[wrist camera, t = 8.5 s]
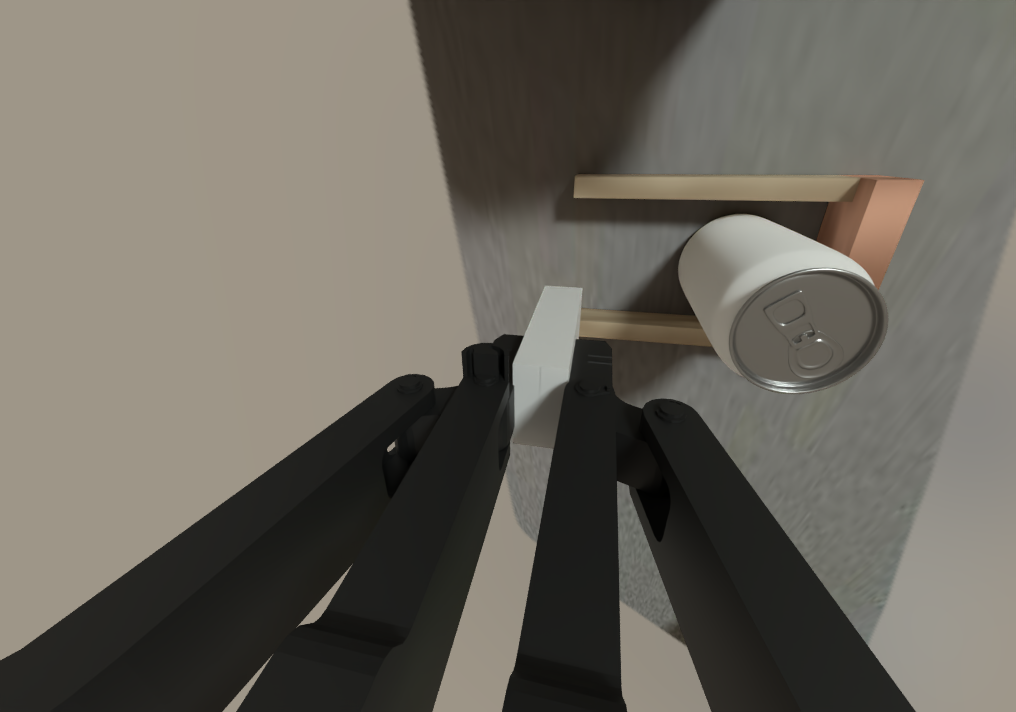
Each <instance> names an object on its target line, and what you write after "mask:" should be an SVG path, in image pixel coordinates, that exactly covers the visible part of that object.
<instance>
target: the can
mask: <svg viewBox="0 0 1016 712" xmlns="http://www.w3.org/2000/svg"><path fill="white" fill-rule="evenodd" d="M678 276H679V281H680V284H681V287H682V289H683V292H684V294H685V296H686V298H687V299H688V301H689V303H690V305H691V307H692V309H693V311H694V313H695V315H696V317H697V318H698V320H699V322H700V324H701V326H702V328H703V330H704V332H705V333H706V335H707V337H708V339H709V341H710V343H711V344H712V346H713V348H714V350H715V351H716V353H717V354H718V356H719V357H720V359H721V360H722V361H723V362H724V363H725V364H726V365H727V366H728V367H729V368H730V369H731V370H733V371H734V372H736V373H737V374H739V375H741V376H743V377H745V378H746V379H747V380H748V381H750V382H751V383H753V384H754V385H756V386H758V387H760V388H763V389H765V390H768V391H772V392H777V393H783V394H804V393H811V392H816V391H820V390H824V389H827V388H830V387H832V386H835V385H837V384H839V383H841V382H843V381H845V380H847V379H848V378H850V377H852V376H853V375H855V374H856V373H857V372H859V371H860V370H861V369H862V368H864V367H865V366H866V365H867V364H868V363H869V362H870V361H871V359H872V358H873V357H874V356H875V355H876V353H877V352H878V350H879V349H880V347H881V345H882V343H883V341H884V339H885V336H886V333H887V328H888V310H887V306H886V303H885V300H884V298H883V296H882V295H881V293H880V292H879V290H878V289H877V288H876V287H875V285H874V283H873V281H872V279H871V278H870V276H869V275H868V273H867V272H866V271H865V270H864V269H863V268H862V267H861V266H860V265H859V264H857V263H856V262H855V261H854V260H852V259H851V258H849V257H847V256H845V255H843V254H842V253H840V252H838V251H836V250H834V249H831V248H829V247H827V246H825V245H823V244H821V243H818V242H816V241H814V240H812V239H810V238H808V237H805V236H803V235H801V234H799V233H797V232H794V231H792V230H790V229H788V228H785V227H783V226H781V225H779V224H776V223H774V222H772V221H769V220H767V219H765V218H762V217H759V216H756V215H750V214H732V215H727V216H724V217H720V218H718V219H715V220H713V221H711V222H709V223H708V224H706V225H705V226H703V227H702V228H701V229H699V230H698V231H697V232H696V233H695V234H694V235H693V236H692V237H691V238H690V240H689V241H688V242H687V244H686V246H685V247H684V249H683V251H682V254H681V257H680V260H679V266H678Z"/></svg>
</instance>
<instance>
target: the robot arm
mask: <svg viewBox="0 0 1016 712" xmlns="http://www.w3.org/2000/svg"><path fill="white" fill-rule="evenodd" d="M582 289H583V288H575V287H557V286H545V288H544V290H543V292H542V295H541V297H540V300H539V302H538V304H537V307H536V309H535V311H534V314H533V316H532V319H531V321H530V323H529V326H528V328H527V331H526V333H525V335H524V336H519V335H506V334H503V335H502V336H500V337H499V338H497V339H496V340H494V342H493V343H479V344H474V345H471V346H469V347H466V348H465V349H464V350H463V351H462V365H463V379H462V381H461V382H460V384H459V386H455V387H448V388H436V389H435V388H434V382H433V380H432V379H431V378H429V377H427V376H425V375H419V374H412V375H411V374H408V375H405V376H401V377H398V378H396V379H394V380H392V381H390V382H389V383H388V384H386V385H385V386H384V387H382V388H381V389H380V390H378V391H377V392H375V393H374V394H373V395H371V396H370V397H368V398H367V399H366V400H365V401H363V402H362V403H360V404H359V405H357V406H356V407H355V408H353V409H352V410H351V411H349V412H348V413H347V414H345V415H344V416H342V417H341V418H339V419H338V420H337V421H335V422H334V423H333V424H331V425H330V426H328V427H327V428H326V429H325V430H323V431H322V432H320V433H319V434H317V435H316V436H315V437H313V438H312V439H311V440H309V441H308V442H306V443H305V444H304V445H302V446H301V447H300V448H298V449H297V450H295V451H294V452H293V453H291V454H290V455H288V456H287V457H286V458H284V459H283V460H282V461H280V462H279V463H277V464H276V465H275V466H273V467H272V468H271V469H269V470H268V471H266V472H265V473H264V474H262V475H261V476H259V477H258V478H257V479H255V480H254V481H253V482H251V483H250V484H248V485H247V486H246V487H244V488H243V489H242V490H240V491H239V492H237V493H236V494H235V495H233V496H232V497H230V498H229V499H228V500H226V501H225V502H224V503H222V504H221V505H219V506H218V507H217V508H216V509H214V510H213V511H211V512H210V513H209V514H207V515H206V516H204V517H203V518H202V519H200V520H199V521H197V522H196V523H195V524H193V525H192V526H191V527H189V528H188V529H186V530H185V531H184V532H182V533H181V534H179V535H178V536H177V537H175V538H174V539H173V540H171V541H170V542H168V543H167V544H166V545H165V546H163V547H162V548H160V549H159V550H157V551H156V552H155V553H153V554H152V555H150V556H149V557H148V558H147V559H145V560H144V561H142V562H141V563H140V564H138V565H137V566H135V567H134V568H133V569H131V570H130V571H129V572H127V573H126V574H124V575H123V576H122V577H120V578H119V579H117V580H116V581H115V582H113V583H112V584H110V585H109V586H108V587H106V588H105V589H104V590H102V591H101V592H100V593H98V594H97V595H95V596H94V597H93V598H91V599H90V600H88V601H87V602H86V603H84V604H83V605H82V606H80V607H79V608H77V609H76V610H75V611H73V612H72V613H70V614H69V615H68V616H66V617H65V618H64V619H62V620H61V621H59V622H58V623H57V624H55V625H54V626H53V627H51V628H50V629H48V630H47V631H46V632H45V633H43V634H42V635H40V636H39V637H37V638H36V639H35V640H33V641H32V642H30V643H29V644H28V645H26V646H25V647H24V648H22V649H21V650H19V651H17V652H15V653H13V654H12V655H10V656H8V657H6V658H4V659H2V660H0V712H222V711H223V710H224V709H225V708H226V707H227V706H228V704H229V703H230V702H231V701H232V700H233V699H234V697H236V695H237V694H238V693H239V692H240V691H241V690H242V689H243V687H244V686H245V685H246V684H247V683H248V682H249V680H251V678H252V677H253V676H254V675H255V674H256V673H257V671H258V670H259V669H260V668H261V667H262V666H263V665H264V664H265V663H266V661H267V660H268V659H269V658H270V657H271V656H272V657H271V659H270V660H269V662H268V663H267V665H266V666H265V668H264V669H263V671H262V673H261V674H260V676H259V677H258V679H257V680H256V682H255V684H254V685H253V687H252V688H251V690H250V691H249V693H248V695H247V696H246V697H245V699H244V701H243V702H242V704H241V705H240V707H239V708H238V710H237V711H236V712H432V711H433V708H434V704H435V701H436V698H437V694H438V691H439V688H440V685H441V681H442V678H443V675H444V671H445V668H446V665H447V661H448V658H449V655H450V651H451V648H452V645H453V642H454V638H455V635H456V631H457V628H458V625H459V622H460V618H461V615H462V612H463V609H464V605H465V602H466V599H467V595H468V592H469V589H470V585H471V582H472V579H473V576H474V572H475V569H476V566H477V562H478V559H479V555H480V552H481V549H482V546H483V543H484V539H485V536H486V533H487V529H488V526H489V523H490V519H491V516H492V513H493V509H494V506H495V503H496V499H497V496H498V493H499V490H500V486H501V483H502V480H503V476H504V473H505V470H506V467H507V463H508V460H509V457H510V439H511V436H512V433H513V443H515V444H522V445H530V446H537V447H545V448H552V449H554V450H553V456H552V462H551V467H550V473H549V478H548V484H547V490H546V495H545V501H544V507H543V512H542V518H541V523H540V529H539V535H538V540H537V546H536V552H535V557H534V563H533V568H532V574H531V580H530V586H529V591H528V597H527V603H526V608H525V614H524V619H523V625H522V630H521V636H520V642H519V648H518V653H517V658H516V663H515V667H514V671H513V672H512V674H511V676H510V679H509V683H508V686H507V690H506V695H505V700H504V705H503V709H502V712H627V708H626V704H625V701H624V699H623V697H622V689H621V658H620V657H621V656H620V655H621V654H620V613H619V611H620V608H619V560H618V513H617V481H619V482H621V483H624V484H626V485H629V490H630V495H631V498H632V500H633V503H634V506H635V508H636V511H637V514H638V516H639V519H640V522H641V524H642V527H643V530H644V532H645V535H646V538H647V540H648V543H649V546H650V549H651V551H652V554H653V557H654V559H655V562H656V565H657V567H658V570H659V573H660V575H661V578H662V581H663V583H664V586H665V589H666V591H667V594H668V597H669V599H670V602H671V605H672V607H673V610H674V613H675V615H676V618H677V621H678V623H679V626H680V629H681V631H682V634H683V637H684V639H685V642H686V645H687V647H688V650H689V653H690V655H691V658H692V660H693V663H694V666H695V669H696V671H697V674H698V677H699V680H700V682H701V685H702V688H703V690H704V693H705V696H706V698H707V700H708V704H709V706H710V709H711V711H712V712H915V710H914V709H913V707H912V706H911V705H910V703H909V702H908V701H907V699H906V698H905V696H904V695H903V694H902V692H901V691H900V690H899V688H898V687H897V686H896V684H895V683H894V681H893V680H892V678H891V677H890V676H889V674H888V673H887V672H886V670H885V669H884V668H883V666H882V665H881V663H880V662H879V661H878V659H877V658H876V657H875V655H874V654H873V652H872V651H871V650H870V648H869V647H868V646H867V644H866V643H865V641H864V640H863V639H862V637H861V636H860V635H859V633H858V632H857V630H856V629H855V628H854V626H853V625H852V624H851V622H850V621H849V619H848V618H847V617H846V615H845V614H844V613H843V611H842V610H841V609H840V607H839V606H838V604H837V603H836V602H835V600H834V599H833V598H832V596H831V595H830V593H829V592H828V591H827V589H826V588H825V587H824V585H823V584H822V582H821V581H820V580H819V578H818V577H817V576H816V574H815V573H814V571H813V570H812V569H811V567H810V566H809V565H808V563H807V562H806V561H805V559H804V558H803V556H802V555H801V554H800V552H799V551H798V550H797V548H796V547H795V545H794V544H793V543H792V541H791V540H790V539H789V537H788V536H787V534H786V533H785V532H784V530H783V529H782V528H781V526H780V525H779V524H778V522H777V521H776V519H775V518H774V517H773V515H772V514H771V513H770V511H769V510H768V508H767V507H766V506H765V504H764V503H763V502H762V500H761V499H760V497H759V496H758V495H757V493H756V492H755V491H754V489H753V488H752V486H751V485H750V484H749V482H748V481H747V480H746V478H745V477H744V476H743V474H742V473H741V471H740V470H739V469H738V467H737V466H736V465H735V463H734V462H733V460H732V459H731V458H730V456H729V455H728V454H727V452H726V451H725V449H724V448H723V447H722V445H721V444H720V443H719V441H718V440H717V439H716V437H715V436H714V434H713V433H712V432H711V430H710V429H709V428H708V426H707V425H706V423H705V422H704V421H703V419H702V418H701V417H700V415H699V414H698V413H697V412H696V411H695V410H694V409H693V408H692V407H690V406H688V405H686V404H685V403H683V402H680V401H676V400H672V399H655V400H651V401H649V402H647V403H646V404H645V405H644V407H643V409H641V408H638V407H635V406H632V405H630V404H627V403H625V402H623V401H622V400H620V399H619V398H618V397H617V396H616V395H615V392H614V389H613V387H612V349H611V347H610V346H609V345H608V344H607V343H606V342H605V341H594V340H582V339H579V328H580V315H581V302H582ZM393 442H395V447H394V448H393V449H392V450H391V451H389V452H388V451H387V448H388V447H389V445H391V444H392V443H393ZM352 564H353V565H352ZM351 565H352V566H351ZM350 566H351V568H350V570H349V572H348V573H347V575H346V576H345V578H344V580H343V582H342V583H341V585H340V587H339V588H338V590H337V592H336V593H335V595H334V597H333V598H332V600H331V602H330V604H329V605H328V607H327V609H326V610H325V611H324V613H323V614H322V616H321V617H320V618H319V619H318V620H317V621H315V622H314V623H310V624H305V625H300V626H298V625H299V624H300V623H301V622H302V621H303V619H304V618H305V617H306V616H307V615H308V614H309V612H310V611H311V610H312V609H313V608H314V607H315V606H316V605H317V604H318V603H319V601H320V600H321V599H322V598H323V597H324V596H325V595H326V593H327V592H328V591H329V590H330V589H331V588H332V587H333V585H334V584H335V583H336V582H337V581H338V580H339V579H340V578H341V576H342V575H343V574H344V573H345V572H346V571H347V570H348V569H349V567H350ZM297 626H298V627H297ZM296 627H297V628H296ZM273 653H274V654H273Z"/></svg>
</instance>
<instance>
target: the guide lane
mask: <svg viewBox="0 0 1016 712" xmlns="http://www.w3.org/2000/svg"><path fill="white" fill-rule="evenodd" d="M923 182H924V180H918V179H909V178H899V177H890V176H880V175H686V174H577V175H576V176H575V182H574V198H615V199H684V200H752V201H821V202H829V203H828V206H827V209H826V212H825V215H824V218H823V221H822V224H821V227H820V230H819V233H818V236H817V240H816V242H818V243H821V244H823V245H825V246H827V247H829V248H831V249H834V250H836V251H838V252H840V253H842V254H843V255H845V256H847V257H849V258H851V259H852V260H854V261H855V262H856V263H857V264H859V265H860V266H861V267H862V268H863V269H864V270H865V271H866V272H867V273H868V275H869V276H870V278H871V279H872V281H873V283H874V285H875V287H876V288H877V289H878V290H879V287H880V285H881V283H882V280H883V278H884V275H885V273H886V271H887V268H888V266H889V264H890V261H891V259H892V256H893V254H894V252H895V249H896V247H897V244H898V242H899V240H900V237H901V235H902V233H903V230H904V228H905V225H906V223H907V221H908V218H909V216H910V213H911V211H912V209H913V206H914V204H915V201H916V199H917V197H918V194H919V192H920V190H921V187H922V185H923ZM579 336H581V337H594V338H607V339H620V340H632V341H645V342H658V343H671V344H683V345H696V346H709V347H713V346H712V344H711V343H710V341H709V339H708V337H707V335H706V333H705V332H704V330H703V328H702V326H701V324H700V322H699V320H698V318H697V317H696V316H693V315H677V314H662V313H647V312H632V311H616V310H601V309H586V308H581V315H580V328H579Z"/></svg>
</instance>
